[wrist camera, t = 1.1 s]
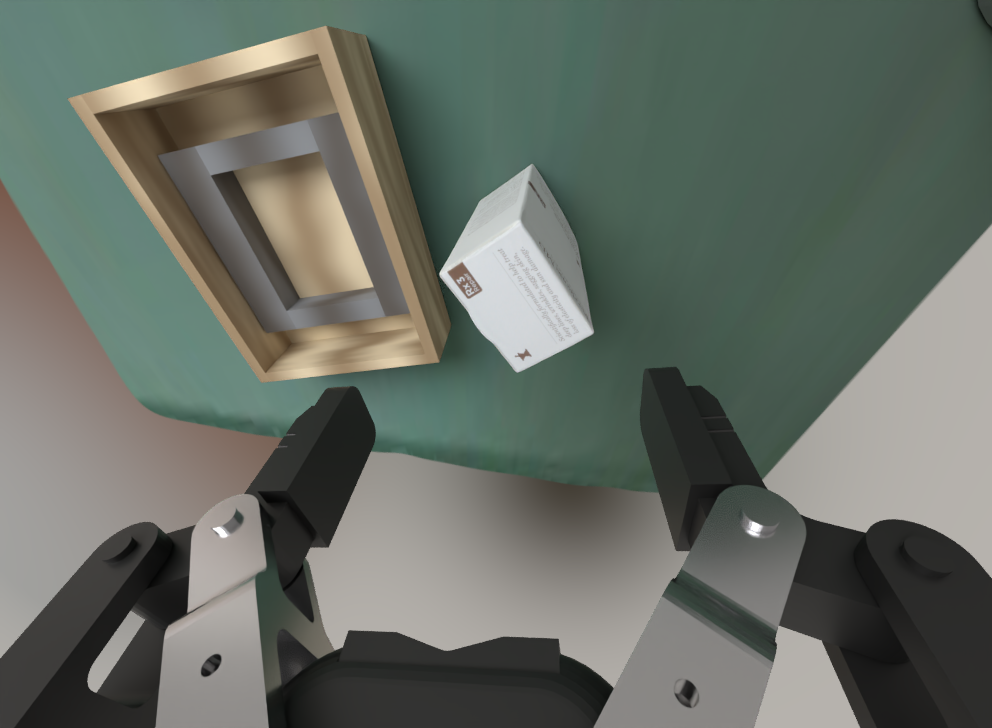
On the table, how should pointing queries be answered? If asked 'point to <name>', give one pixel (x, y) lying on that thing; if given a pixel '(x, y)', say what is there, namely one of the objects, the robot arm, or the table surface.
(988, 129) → the table surface
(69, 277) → the table surface
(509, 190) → the skincare box
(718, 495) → the robot arm
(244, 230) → the crate
